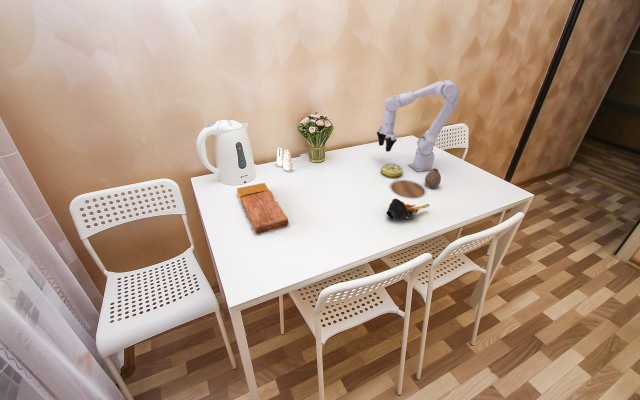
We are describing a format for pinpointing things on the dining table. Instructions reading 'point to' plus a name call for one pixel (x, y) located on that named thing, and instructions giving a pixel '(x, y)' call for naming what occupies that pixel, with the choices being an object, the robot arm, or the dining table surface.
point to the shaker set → (284, 159)
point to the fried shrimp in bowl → (402, 210)
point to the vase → (433, 178)
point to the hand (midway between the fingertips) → (384, 148)
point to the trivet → (407, 189)
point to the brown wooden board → (261, 208)
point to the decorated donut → (391, 170)
